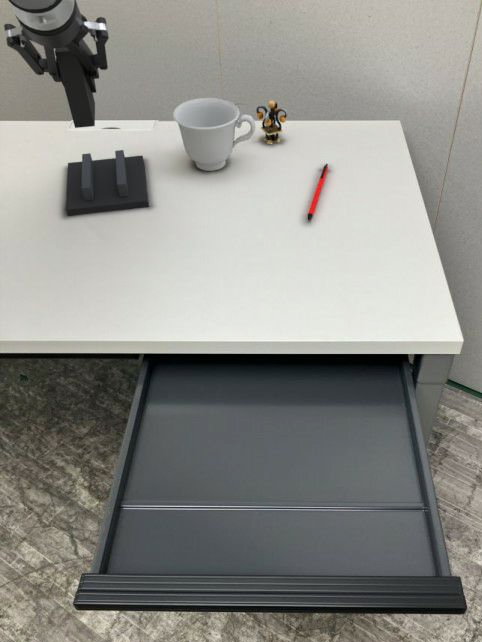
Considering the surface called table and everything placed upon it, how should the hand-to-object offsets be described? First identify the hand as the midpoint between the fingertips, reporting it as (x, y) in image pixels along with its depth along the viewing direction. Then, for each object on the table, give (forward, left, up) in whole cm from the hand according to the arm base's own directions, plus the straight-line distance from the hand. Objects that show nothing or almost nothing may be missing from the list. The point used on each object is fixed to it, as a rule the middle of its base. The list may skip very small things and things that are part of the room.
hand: (80, 84), depth 94 cm
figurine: (+33, +11, -19) cm, 40 cm away
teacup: (+21, +4, -19) cm, 29 cm away
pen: (+38, -10, -18) cm, 43 cm away
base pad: (0, 0, -18) cm, 18 cm away
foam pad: (0, -4, -3) cm, 5 cm away
